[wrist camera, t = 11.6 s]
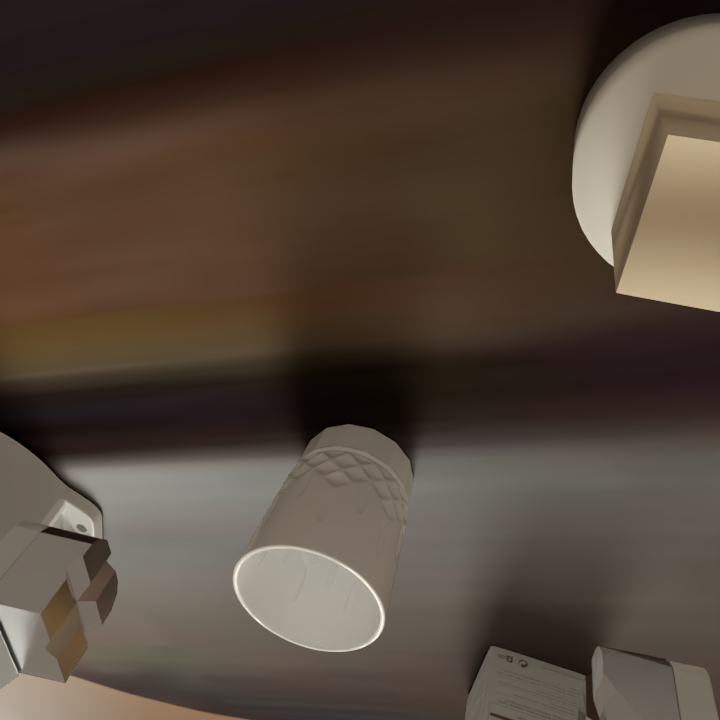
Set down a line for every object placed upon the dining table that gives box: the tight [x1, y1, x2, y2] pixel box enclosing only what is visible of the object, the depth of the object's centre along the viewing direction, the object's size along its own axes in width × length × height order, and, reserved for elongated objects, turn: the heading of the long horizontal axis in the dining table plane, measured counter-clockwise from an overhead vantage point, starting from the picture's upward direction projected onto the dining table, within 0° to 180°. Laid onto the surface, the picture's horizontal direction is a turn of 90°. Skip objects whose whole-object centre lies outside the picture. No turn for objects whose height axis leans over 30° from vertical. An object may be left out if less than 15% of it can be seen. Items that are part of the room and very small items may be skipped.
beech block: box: [611, 92, 720, 312], centre depth 22 cm, size 5×5×5 cm
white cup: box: [233, 424, 413, 652], centre depth 38 cm, size 8×8×10 cm
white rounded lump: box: [572, 13, 720, 266], centre depth 26 cm, size 9×9×4 cm
